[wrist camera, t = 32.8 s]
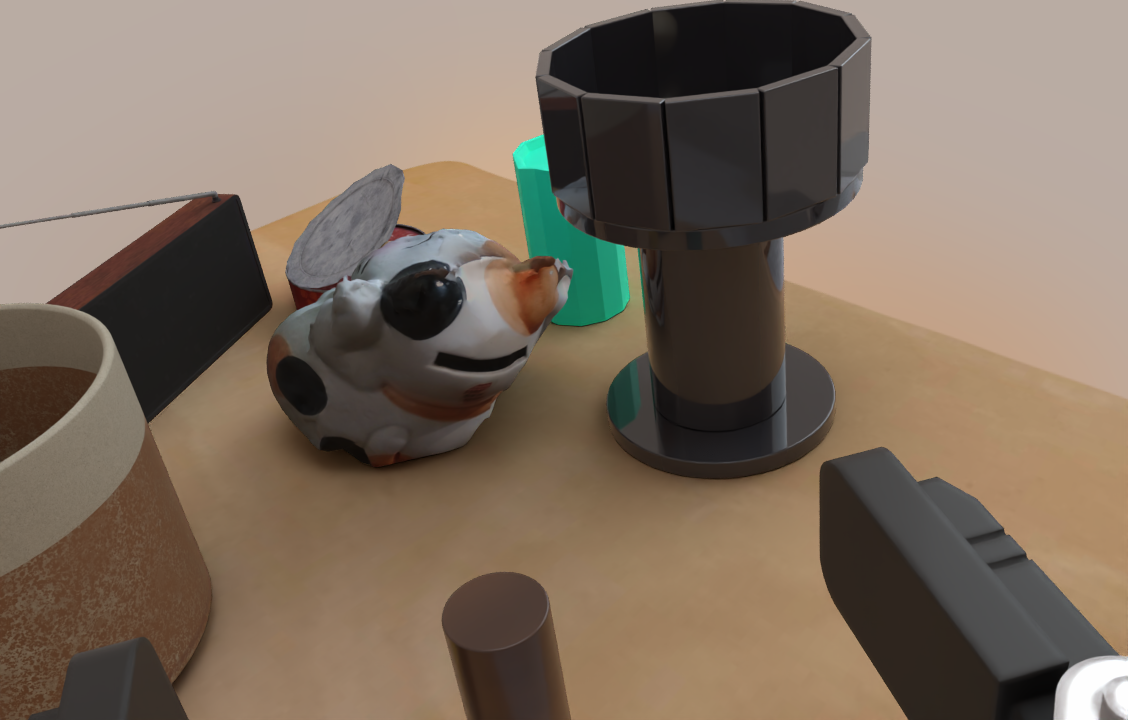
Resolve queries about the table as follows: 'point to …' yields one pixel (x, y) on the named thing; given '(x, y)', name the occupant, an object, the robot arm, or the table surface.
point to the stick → (505, 649)
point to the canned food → (347, 234)
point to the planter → (83, 512)
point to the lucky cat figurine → (413, 345)
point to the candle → (569, 244)
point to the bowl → (711, 209)
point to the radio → (175, 294)
